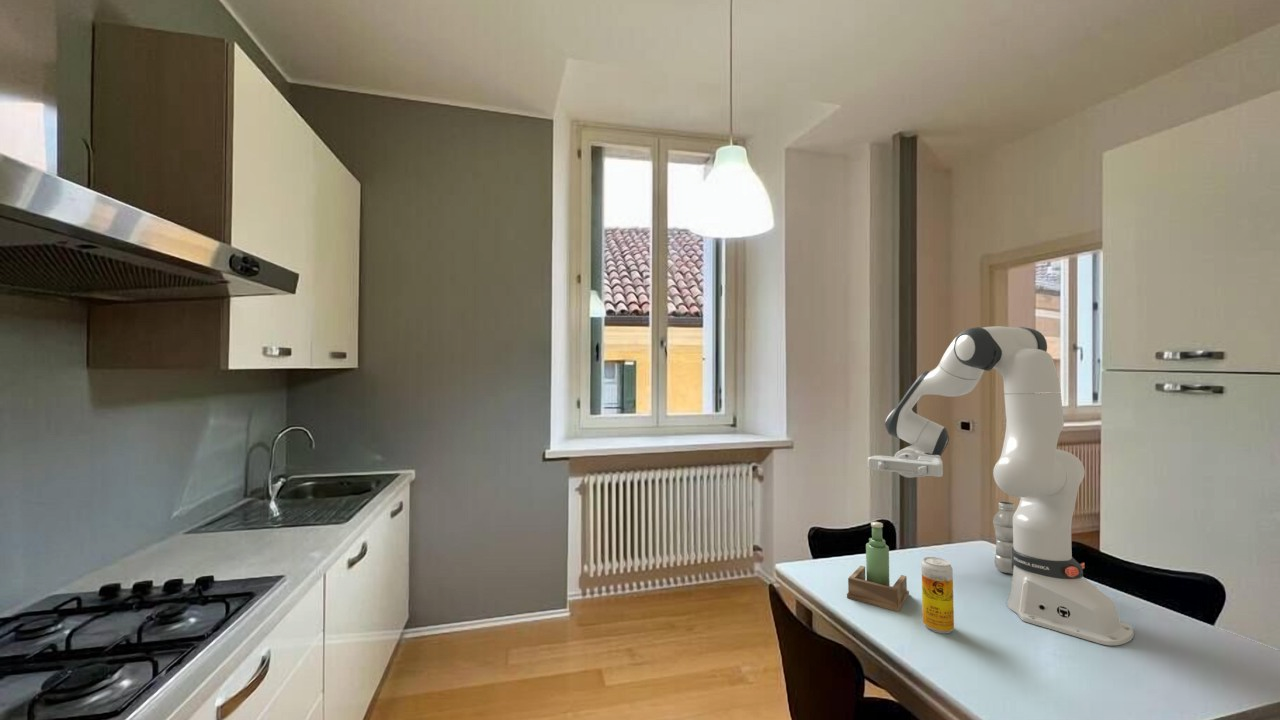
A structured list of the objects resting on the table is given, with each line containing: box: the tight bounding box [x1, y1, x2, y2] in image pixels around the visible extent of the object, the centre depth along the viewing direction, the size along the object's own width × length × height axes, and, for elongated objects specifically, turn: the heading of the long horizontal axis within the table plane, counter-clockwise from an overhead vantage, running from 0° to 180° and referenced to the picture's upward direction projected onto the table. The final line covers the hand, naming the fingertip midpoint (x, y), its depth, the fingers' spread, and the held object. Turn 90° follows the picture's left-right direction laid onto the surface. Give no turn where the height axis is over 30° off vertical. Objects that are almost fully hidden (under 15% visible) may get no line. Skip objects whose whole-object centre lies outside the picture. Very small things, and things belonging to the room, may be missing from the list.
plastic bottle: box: [992, 501, 1016, 575], centre depth 144 cm, size 6×7×20 cm
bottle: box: [865, 521, 891, 586], centre depth 130 cm, size 5×5×18 cm
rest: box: [846, 565, 910, 612], centre depth 130 cm, size 12×12×5 cm
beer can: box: [921, 556, 955, 634], centre depth 114 cm, size 6×6×15 cm
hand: (898, 469), depth 145 cm, fingers open, 8 cm apart
